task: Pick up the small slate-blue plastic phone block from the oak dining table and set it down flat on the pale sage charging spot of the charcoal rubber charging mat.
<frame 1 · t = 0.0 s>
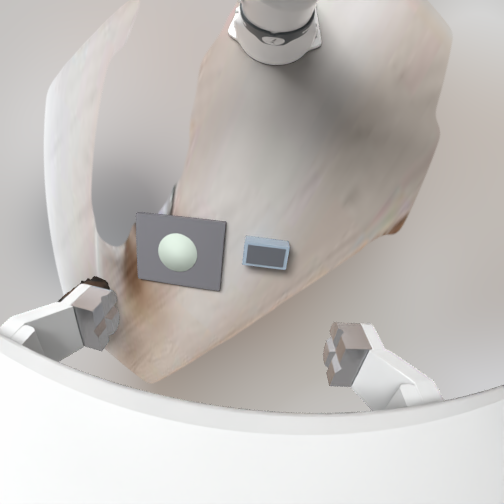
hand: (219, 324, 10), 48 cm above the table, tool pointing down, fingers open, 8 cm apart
phone: (265, 248, 60), on the table
brown rock: (95, 295, 67), on the table
charging mat: (178, 250, 61), on the table
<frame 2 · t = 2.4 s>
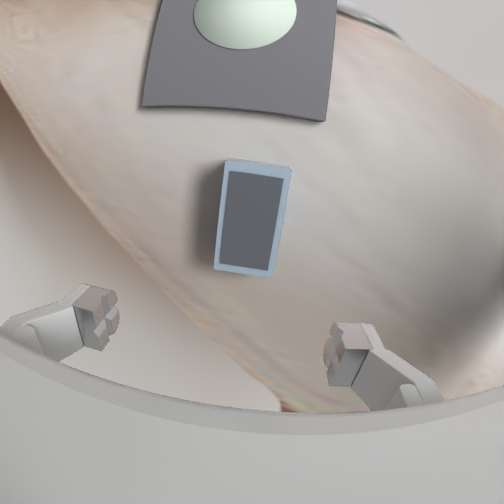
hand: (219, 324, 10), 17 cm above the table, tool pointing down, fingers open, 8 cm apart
phone: (252, 210, 25), on the table
charging mat: (245, 14, 18), on the table
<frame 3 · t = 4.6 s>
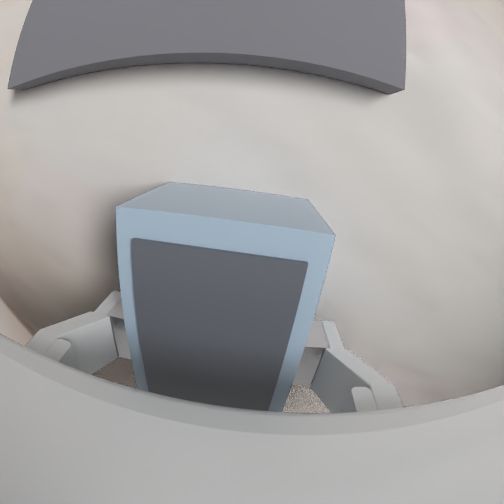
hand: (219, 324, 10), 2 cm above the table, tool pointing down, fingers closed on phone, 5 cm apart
phone: (225, 300, 11), on the table, touching gripper
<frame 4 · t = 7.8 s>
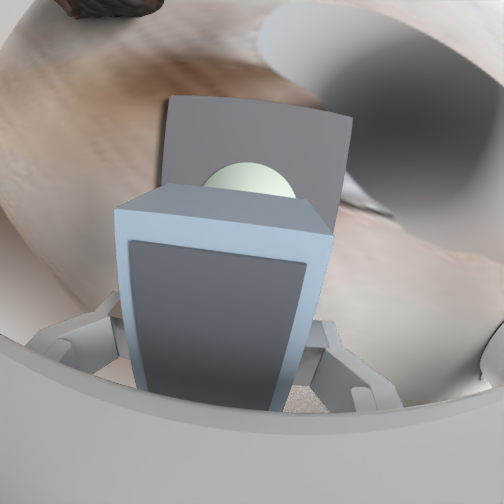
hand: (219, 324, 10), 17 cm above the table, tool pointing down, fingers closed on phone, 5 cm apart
phone: (225, 301, 11), point 15 cm above the table, touching gripper
charging mat: (247, 210, 26), on the table
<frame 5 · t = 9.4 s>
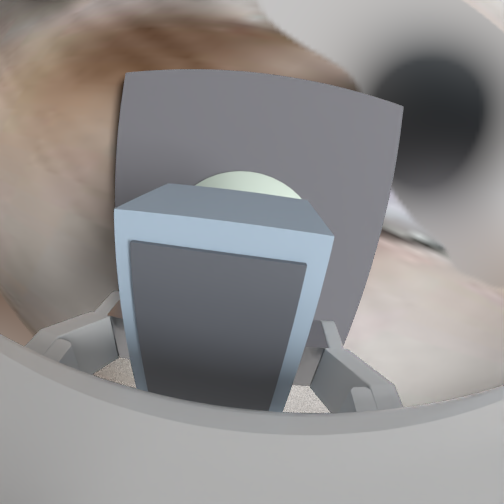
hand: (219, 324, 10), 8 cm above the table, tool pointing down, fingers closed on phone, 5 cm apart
phone: (225, 301, 11), point 6 cm above the table, touching gripper
charging mat: (242, 243, 17), on the table
when the fingers open (5 cm above the table, at t = 10.9 s): phone drops 2 cm, resting on charging mat.
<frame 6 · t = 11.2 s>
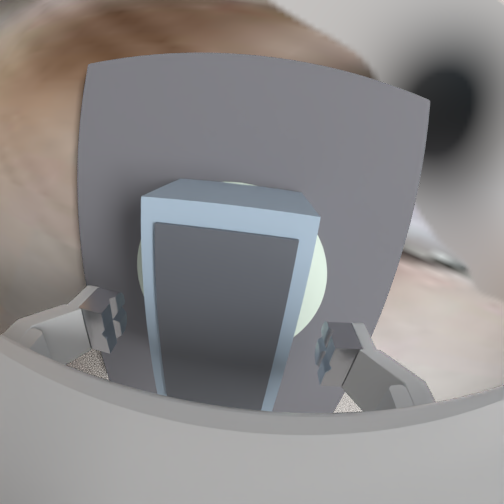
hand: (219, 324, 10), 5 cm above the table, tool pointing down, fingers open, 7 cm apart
phone: (229, 283, 13), point 1 cm above the table, touching charging mat
charging mat: (231, 269, 14), on the table
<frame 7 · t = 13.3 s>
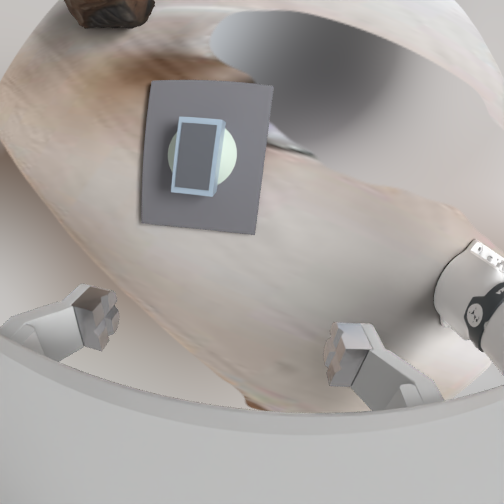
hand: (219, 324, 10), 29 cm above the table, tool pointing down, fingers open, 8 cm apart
phone: (201, 154, 33), point 1 cm above the table, touching charging mat
brown rock: (119, 5, 25), on the table
charging mat: (203, 154, 35), on the table
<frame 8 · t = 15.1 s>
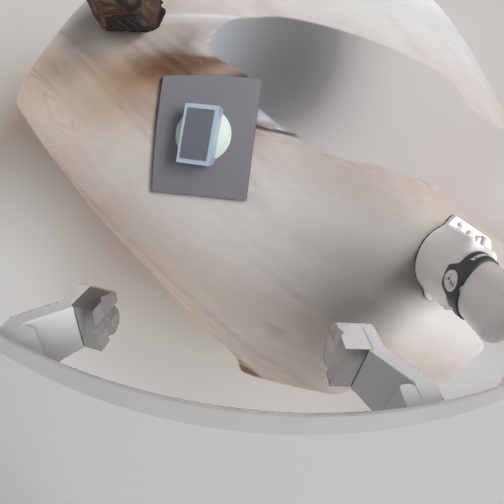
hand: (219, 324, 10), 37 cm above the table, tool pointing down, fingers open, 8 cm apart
phone: (202, 134, 40), point 1 cm above the table, touching charging mat
brown rock: (135, 12, 32), on the table
charging mat: (204, 134, 41), on the table
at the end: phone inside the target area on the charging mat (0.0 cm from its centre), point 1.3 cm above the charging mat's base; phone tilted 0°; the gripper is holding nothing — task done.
